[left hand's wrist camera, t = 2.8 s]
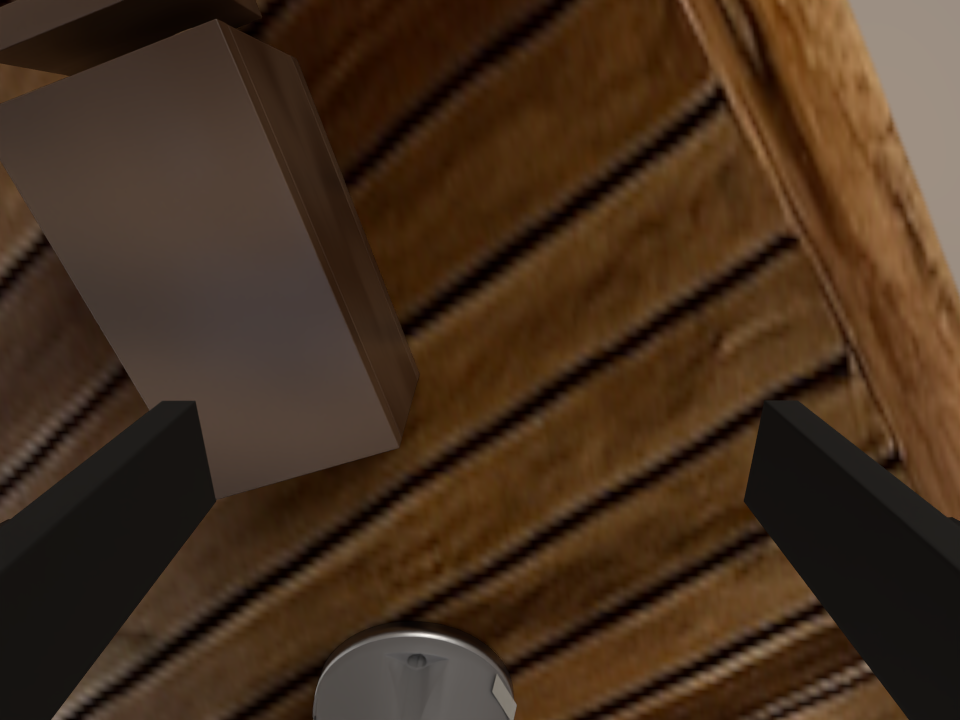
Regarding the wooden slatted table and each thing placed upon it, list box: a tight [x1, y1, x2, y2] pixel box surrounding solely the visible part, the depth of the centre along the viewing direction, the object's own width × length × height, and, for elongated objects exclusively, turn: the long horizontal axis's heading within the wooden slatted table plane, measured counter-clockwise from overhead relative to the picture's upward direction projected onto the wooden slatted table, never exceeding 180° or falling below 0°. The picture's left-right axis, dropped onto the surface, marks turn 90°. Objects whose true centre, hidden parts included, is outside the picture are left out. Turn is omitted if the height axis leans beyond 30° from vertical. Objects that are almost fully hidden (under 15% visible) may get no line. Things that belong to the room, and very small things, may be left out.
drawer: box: [0, 0, 262, 93], centre depth 24 cm, size 22×9×7 cm, turn 18°
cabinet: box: [0, 19, 419, 500], centre depth 27 cm, size 18×10×9 cm, turn 18°
